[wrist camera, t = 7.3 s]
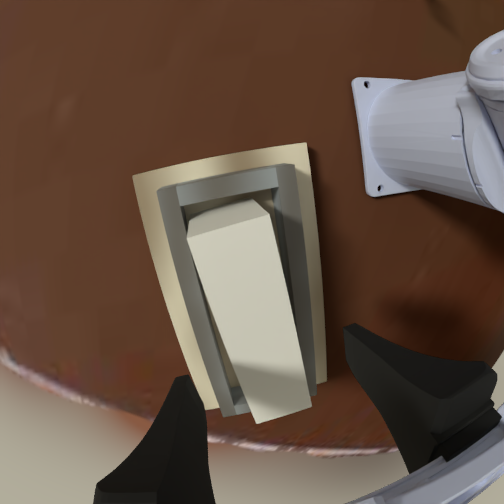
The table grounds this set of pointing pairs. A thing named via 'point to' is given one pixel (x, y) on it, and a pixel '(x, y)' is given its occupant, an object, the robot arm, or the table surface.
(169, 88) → the table surface
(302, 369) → the bar
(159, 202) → the cradle
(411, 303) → the table surface
